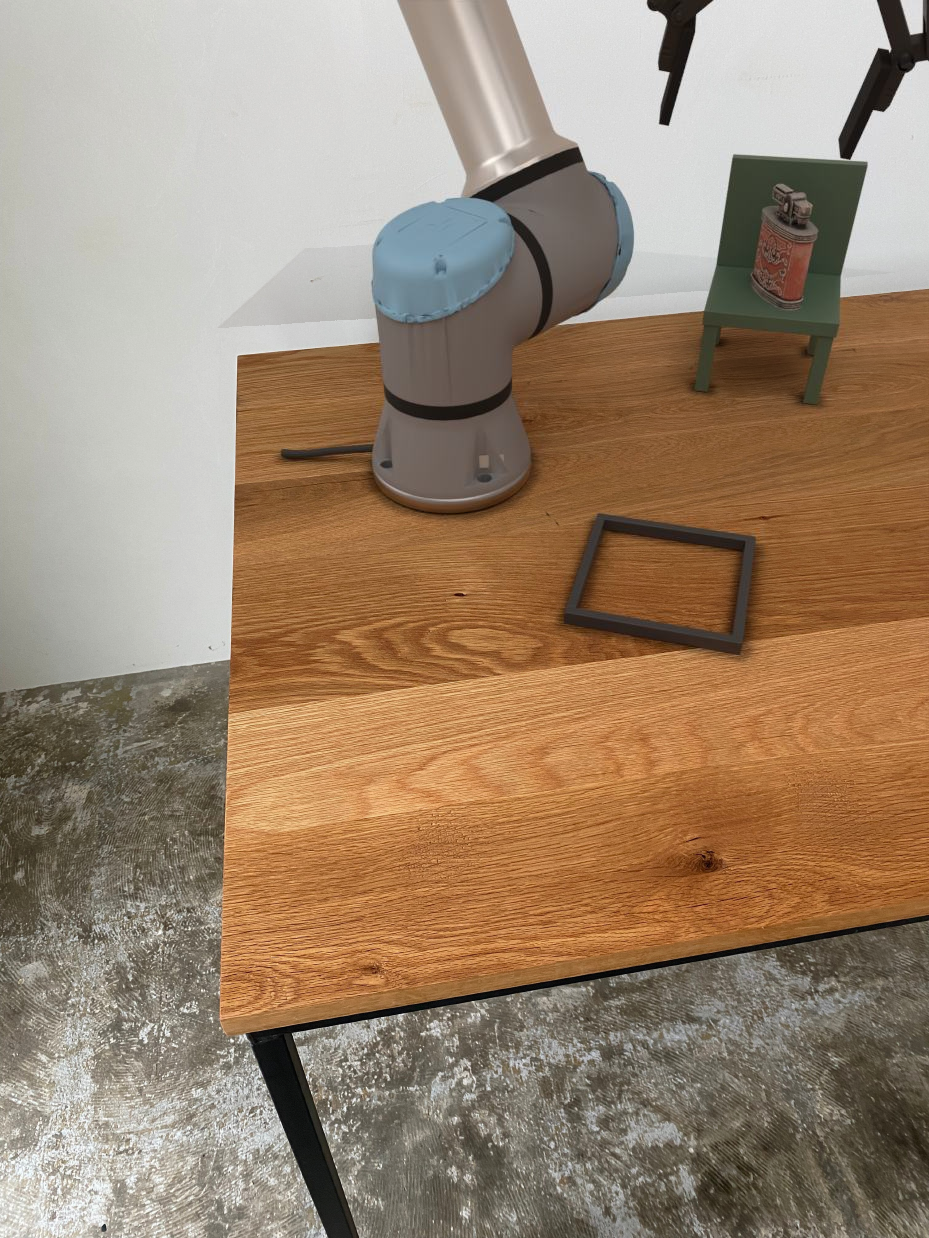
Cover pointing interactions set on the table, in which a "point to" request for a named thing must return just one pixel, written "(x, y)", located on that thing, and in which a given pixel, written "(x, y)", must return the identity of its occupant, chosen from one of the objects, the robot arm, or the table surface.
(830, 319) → the chair
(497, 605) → the table surface
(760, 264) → the lighter
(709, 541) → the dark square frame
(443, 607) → the table surface
